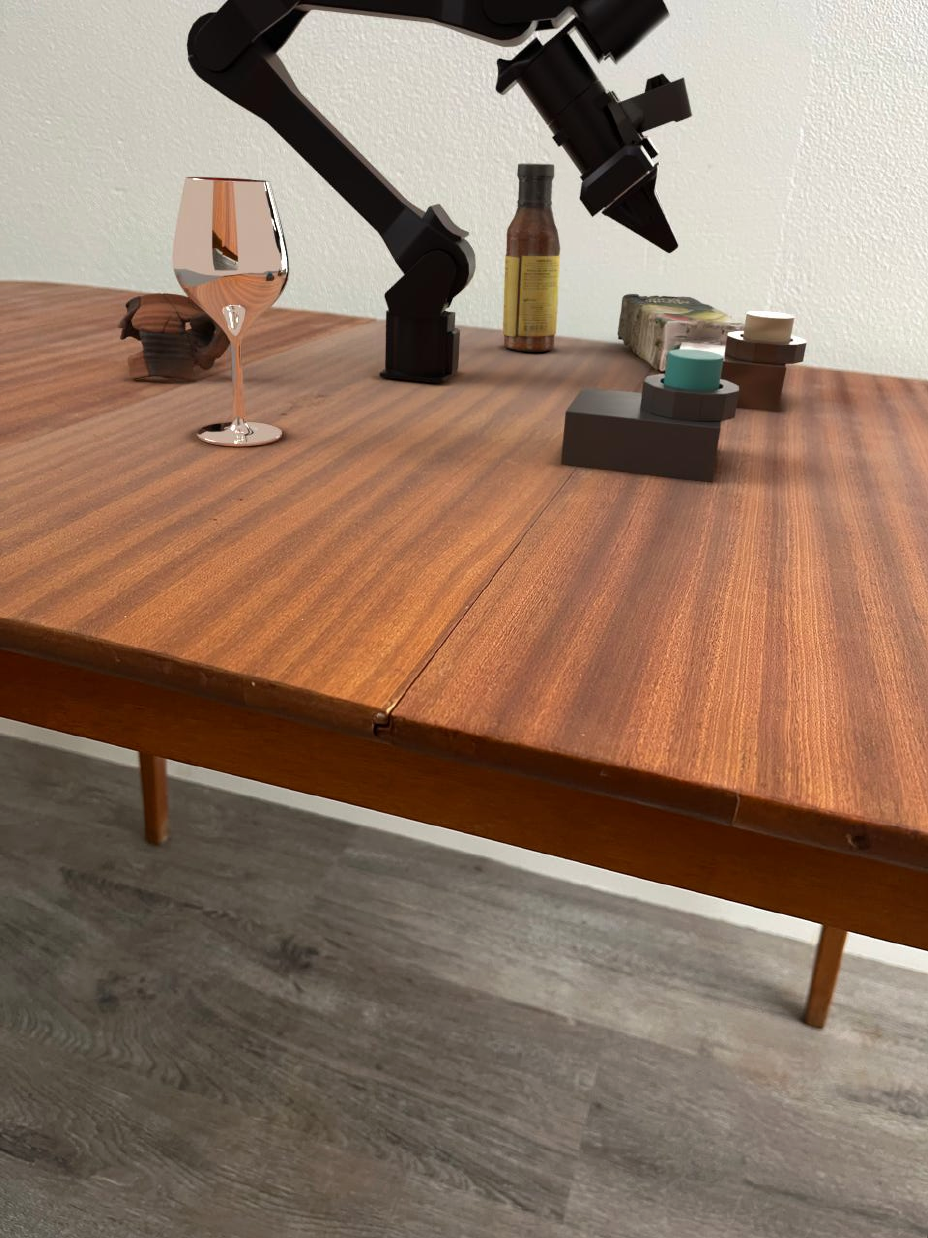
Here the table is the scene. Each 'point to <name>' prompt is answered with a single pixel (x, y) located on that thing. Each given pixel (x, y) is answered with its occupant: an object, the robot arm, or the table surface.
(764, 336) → the bell button
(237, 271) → the wineglass
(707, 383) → the teal button
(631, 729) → the table surface
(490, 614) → the table surface
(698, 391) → the dark brown block
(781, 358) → the base
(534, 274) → the sauce bottle
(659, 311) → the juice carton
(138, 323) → the pottery mug
